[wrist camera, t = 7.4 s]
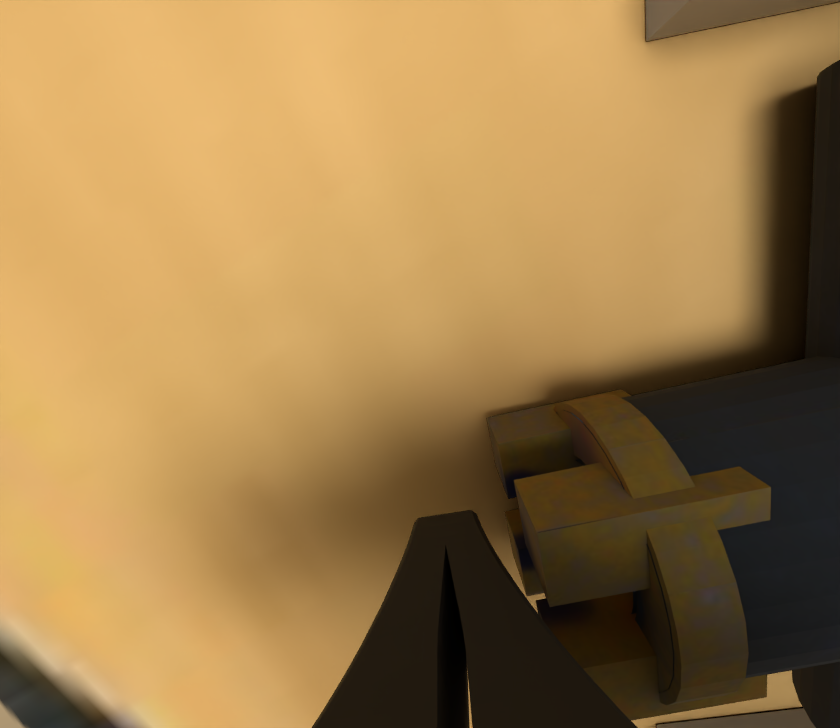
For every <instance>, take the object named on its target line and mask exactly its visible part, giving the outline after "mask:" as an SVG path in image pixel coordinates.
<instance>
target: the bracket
mask: <svg viewBox="0 0 840 728" xmlns="http://www.w3.org/2000/svg"><path fill="white" fill-rule="evenodd" d="M835 2H840V0H646V41H650V40H655V39H660V38H665V37H670V36H675V35H680V34H684V33H689V32H694V31H699V30H704V29H709V28H714V27H718V26H723V25H728V24H733V23H738V22H743V21H747V20H752V19H757V18H762V17H767V16H772V15H777V14H781V13H786V12H791V11H796V10H801V9H806V8H811V7H815V6H820V5H825V4H830V3H835ZM657 728H816V727H815V726H814V725H813V723H812V722H811V720H810V719H809V717H808V715H807V713H806V712H805V710H804V708H801V709H792V710H783V711H774V712H765V713H757V714H748V715H739V716H730V717H721V718H712V719H703V720H695V721H686V722H677V723H668V724H659V725H657Z"/></svg>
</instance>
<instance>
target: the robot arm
mask: <svg viewBox="0 0 840 728" xmlns="http://www.w3.org/2000/svg"><path fill="white" fill-rule="evenodd" d="M467 669H468V676H467ZM468 680H469V691H470V702H471V713H472V725H473V728H637V727H636V726H635V725H634V724H633V723H632V722H631V721H630V719H629V718H628V717H627V716H626V715H625V714H624V713H623V712H622V711H621V710H620V709H619V708H618V707H617V706H616V705H615V703H614V702H613V701H612V700H611V699H610V698H609V697H608V696H607V695H606V694H605V693H604V692H603V690H602V689H601V688H600V687H599V686H598V685H597V684H596V683H595V682H594V681H593V680H592V678H591V677H590V676H589V675H588V674H587V673H586V672H585V670H584V669H583V668H582V667H581V666H580V665H579V664H578V662H577V661H576V660H575V659H574V658H573V657H572V655H571V654H570V653H569V652H568V651H567V650H566V648H565V647H564V646H563V645H562V644H561V642H560V641H559V640H558V639H557V637H556V636H555V635H554V634H553V632H552V631H551V630H550V629H549V628H548V626H547V625H546V624H545V622H544V621H543V620H542V618H541V617H540V616H539V615H538V613H537V612H536V611H535V609H534V608H533V607H532V605H531V604H530V603H529V601H528V600H527V599H526V597H525V596H524V594H523V593H522V592H521V590H520V589H519V587H518V586H517V584H516V583H515V581H514V580H513V578H512V577H511V575H510V574H509V573H508V571H507V570H506V568H505V567H504V565H503V564H502V562H501V560H500V559H499V557H498V556H497V554H496V552H495V550H494V549H493V547H492V545H491V544H490V542H489V540H488V538H487V536H486V534H485V532H484V530H483V528H482V526H481V524H480V521H479V519H478V516H477V514H476V513H475V512H473V511H472V510H468V511H461V512H454V513H448V514H441V515H434V516H427V517H421V518H418V519H417V520H416V522H415V523H414V526H413V529H412V533H411V536H410V539H409V541H408V544H407V547H406V550H405V552H404V555H403V557H402V560H401V562H400V565H399V567H398V570H397V572H396V574H395V577H394V579H393V581H392V583H391V586H390V588H389V590H388V592H387V595H386V597H385V599H384V601H383V603H382V605H381V608H380V610H379V611H378V613H377V615H376V617H375V619H374V621H373V623H372V625H371V627H370V629H369V631H368V633H367V635H366V637H365V639H364V641H363V643H362V645H361V647H360V648H359V650H358V652H357V654H356V656H355V657H354V659H353V661H352V663H351V665H350V666H349V668H348V670H347V672H346V673H345V675H344V677H343V678H342V680H341V682H340V683H339V685H338V687H337V688H336V690H335V692H334V693H333V695H332V697H331V698H330V700H329V702H328V703H327V705H326V706H325V708H324V710H323V711H322V713H321V714H320V716H319V717H318V719H317V720H316V722H315V723H314V725H313V726H312V728H469V703H468Z"/></svg>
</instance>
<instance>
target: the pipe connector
mask: <svg viewBox="0 0 840 728" xmlns="http://www.w3.org/2000/svg"><path fill="white" fill-rule="evenodd" d="M487 423H488V428H489V433H490V438H491V443H492V449H493V454H494V459H495V464H496V468H497V470H498V473H499V476H500V478H501V481H502V483H503V486H504V489H505V491H506V494H507V497H508V499H511V498H515V497H517V500H518V506H519V509H515V510H510V511H505V515H506V520H507V526H508V531H509V536H510V541H511V546H512V551H513V555H514V558H515V561H516V564H517V568H518V571H519V574H520V577H521V580H522V583H523V586H524V589H525V592H526V595H527V596H530V595H535V594H541V593H545V596H546V599H541V600H536V604H537V610H538V615H539V616H540V617H541V618H542V620H543V621H544V622H545V624H546V625H547V626H548V628H549V629H550V630H551V631H552V632H553V634H554V635H555V636H556V637H557V639H558V640H559V641H560V642H561V644H562V645H563V646H564V647H565V648H566V650H567V651H568V652H569V653H570V654H571V655H572V657H573V658H574V659H575V660H576V661H577V662H578V664H579V665H580V666H581V667H582V668H583V669H584V670H585V672H586V673H587V674H588V675H589V676H590V677H591V678H592V680H593V681H594V682H595V683H596V684H597V685H598V686H599V687H600V688H601V689H602V690H603V692H604V693H605V694H606V695H607V696H608V697H609V698H610V699H611V700H612V701H613V702H614V703H615V705H616V706H617V707H618V708H619V709H620V710H621V711H622V712H623V713H624V714H625V715H626V716H627V717H628V718H629V719H630V721H631V720H636V719H642V718H648V717H654V716H660V715H665V714H671V713H677V712H683V711H689V710H694V709H700V708H706V707H712V706H718V705H723V704H729V703H735V702H741V701H747V700H752V699H758V698H764V697H767V674H772V673H778V672H784V671H789V670H792V678H793V683H794V686H795V689H796V692H797V695H798V698H799V701H800V702H801V704H802V706H803V708H804V710H805V712H806V713H807V715H808V717H809V719H810V720H811V722H812V723H813V725H814V726H815V727H816V728H840V60H839V61H837V62H835V63H833V64H832V65H830V66H829V67H827V68H826V69H824V70H823V71H822V72H820V74H819V75H818V77H817V96H816V119H815V141H814V164H813V187H812V210H811V233H810V255H809V278H808V301H807V324H806V347H805V359H802V360H797V361H793V362H788V363H783V364H778V365H774V366H769V367H764V368H760V369H755V370H750V371H745V372H741V373H736V374H731V375H727V376H722V377H717V378H712V379H708V380H703V381H698V382H694V383H689V384H684V385H679V386H675V387H670V388H665V389H660V390H656V391H651V392H646V393H642V394H637V395H632V396H631V395H630V394H628V393H626V392H625V391H623V390H622V389H619V390H614V391H610V392H605V393H600V394H595V395H591V396H586V397H581V398H577V399H572V400H567V401H563V402H558V403H553V404H548V405H544V406H539V407H534V408H530V409H525V410H520V411H516V412H511V413H506V414H502V415H497V416H492V417H487Z"/></svg>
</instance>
